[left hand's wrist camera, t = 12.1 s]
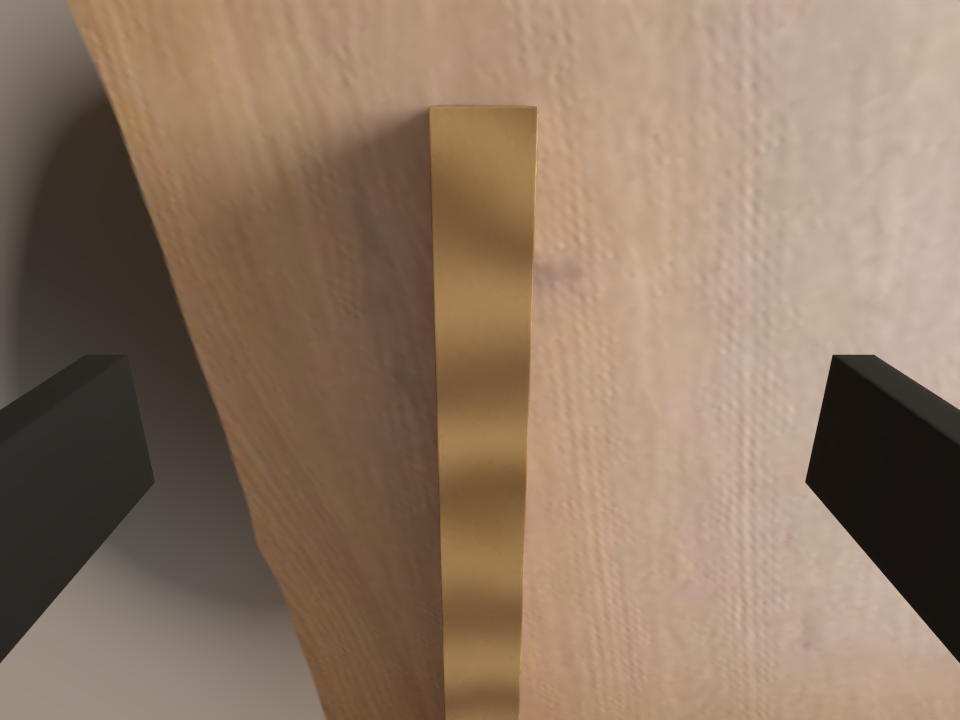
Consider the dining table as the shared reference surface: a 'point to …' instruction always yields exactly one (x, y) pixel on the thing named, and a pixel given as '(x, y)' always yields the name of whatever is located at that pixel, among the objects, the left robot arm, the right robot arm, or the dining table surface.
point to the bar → (482, 392)
